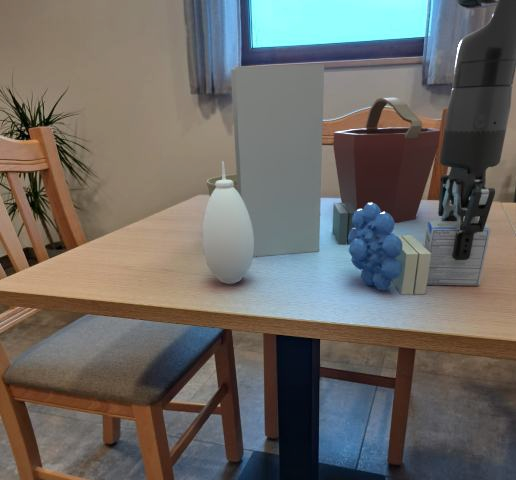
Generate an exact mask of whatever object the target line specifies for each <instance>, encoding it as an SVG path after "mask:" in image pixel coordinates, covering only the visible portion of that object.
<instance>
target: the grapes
mask: <svg viewBox="0 0 516 480" xmlns="http://www.w3.org/2000/svg"><path fill="white" fill-rule="evenodd" d="M352 224H353V225H354V227H353V228H352V229H351V230H350V232H349V235H348V241H349V243H350V244H349V248H348V253H349V255H350V256H351V263H352V265H353V266H354V267H355V268H356V269H359V270H360V271H361V273H360V278H361V280H362V281H363V283H364V284H365V285H367V286H369V287H376V288H377V289H378V290H380V291H388V289H390V287H391V285H392V283H393V281H392V280H393V279H396V278H397V277H399V275H400V273H401V264H400V262H399V261H398V260H397V259H396V258H395V257H397V256H399V255H400V253H401V251H402V246H403V245H402V241H401V239H400V238H399V237H398V236H397V235H398V234H395V233H393V231H394V229H395V224H396V223H394V220H393V218H392V217H391V215H390V214H388V213H386V212H381V210H380V208H379V207H378V206H377V204H374V203H368V204H367V205H366V206H365V207H364V209H358V210H357V211H356V212H355V213H354V215H353V217H352Z"/></svg>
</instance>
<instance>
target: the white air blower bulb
mask: <svg viewBox="0 0 516 480" xmlns="http://www.w3.org/2000/svg"><path fill="white" fill-rule="evenodd" d="M225 175H226V167H225V162H224V160H222V162H221V176H222V180H218V181H216V183H215V186H216V188H215V190H214V191H213V193H212V195H211V197H210V196H209V199H208V201H207V204H206V207H205V211H204V215H203V221H202V226H201V227H202V228H201V229H202V230H201V244H202V253H203V256H204V260H205V262H206V265H207V267H208V269H209V271H210V273H211V274H212V276H214V277H215V278H217V279H218V280H219V281H220V282H221V283H224V284H226V285H234V284H237V282H241V280H242V278H243V277H245V276H246V275H247V274H248V272H249V270H250V269H251V266H252V262H253V259H254V257H253V252H254V236H253V229H252V224H251V220H250V217H249V214H248V211H247V208H246V206H245V204H244V202H243V200H242V198H241V196H240V195H239V193H238V192H237V190H236V189H235V188H234V187H233V185H234V184H233V181H232V180H226V176H225Z"/></svg>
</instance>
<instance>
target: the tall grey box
mask: <svg viewBox="0 0 516 480" xmlns="http://www.w3.org/2000/svg"><path fill="white" fill-rule="evenodd" d="M230 73H231V74H230V77H231V78H230V80H231V96H232V97H231V98H232V114H233V115H232V116H233V133H234V134H233V137H234V150H235V151H234V152H235V171H236V173H235V174H237V192H238V193H239V195H240V196H241V198H242V200H243V202H244V204H245V206H246V208H247V211H248V214H249V217H250V220H251V224H252V229H253V236H254V252H253V258H257V257H267V256H279V255H291V254H304V253H305V254H306V253H316V252H320V238H321V237H320V236H321V234H320V233H321V232H320V231H321V201H322V197H321V196H322V168H323V167H322V165H323V163H322V162H323V130H324V129H323V127H324V126H323V125H324V124H323V123H324V88H325V64H299V65H298V64H295V65H292V64H291V65H264V66H263V65H260V66H256V65H255V66H235V67H234V68H233V69H230ZM256 256H257V257H256Z"/></svg>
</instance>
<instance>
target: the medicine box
mask: <svg viewBox="0 0 516 480" xmlns="http://www.w3.org/2000/svg"><path fill="white" fill-rule="evenodd" d="M456 229H457V221H442V220H431V221H428V222H427V225H426V231H425V238H424V247H425V248H426V249H427V250H428V251H429V252H430V253H431V259H430V266H429V273H428V280H427V286H469V287H479V286H480V285H481V281H482V280H481V279H482V274H483V269H484V263H485V258H486V255H487V249H488V246H489V240H490V236H491V228H490V227H489V226H488V224H487V223H486V224H485V227H484V230H483V232H477V233H475V234H474V237H473V242H472V247H471V253H470V257H469V259H467V260H455V259H454V258H453V257H452V255H453V249H454V243H455V237H456V233H457V231H456Z"/></svg>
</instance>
